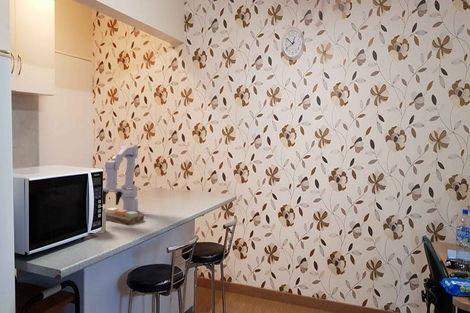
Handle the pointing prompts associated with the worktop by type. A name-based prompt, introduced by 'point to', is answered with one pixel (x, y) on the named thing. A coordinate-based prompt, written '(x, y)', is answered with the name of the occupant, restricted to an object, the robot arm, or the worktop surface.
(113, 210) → the ivory cube
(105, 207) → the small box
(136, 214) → the block
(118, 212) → the salmon pink cube
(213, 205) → the worktop surface
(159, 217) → the worktop surface
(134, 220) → the slotted board
